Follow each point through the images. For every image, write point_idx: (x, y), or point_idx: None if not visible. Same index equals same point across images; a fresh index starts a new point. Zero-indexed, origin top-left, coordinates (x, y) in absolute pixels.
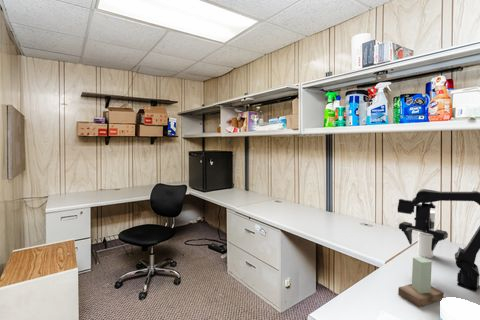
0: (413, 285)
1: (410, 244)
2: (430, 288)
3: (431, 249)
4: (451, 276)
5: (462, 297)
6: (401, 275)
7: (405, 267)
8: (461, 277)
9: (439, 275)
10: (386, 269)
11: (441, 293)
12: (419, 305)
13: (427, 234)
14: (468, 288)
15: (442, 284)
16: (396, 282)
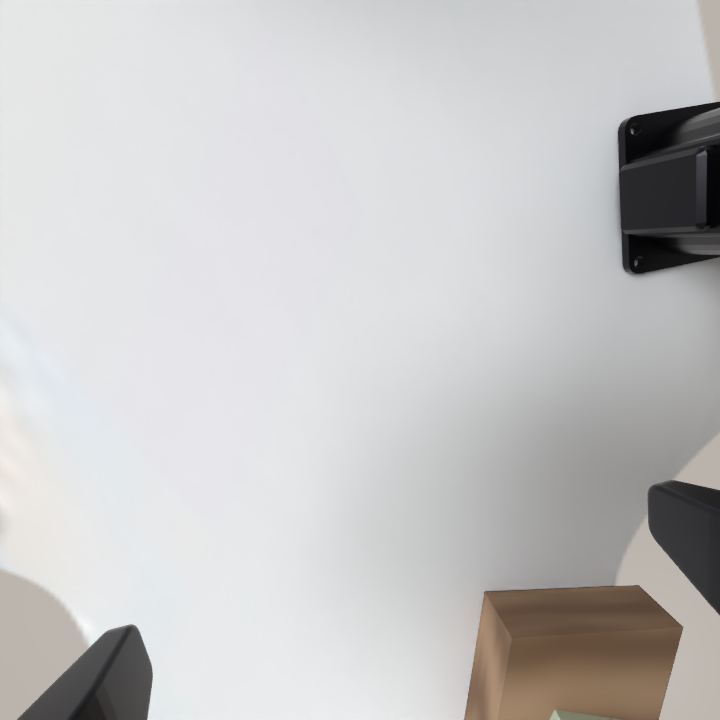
0: None
1: (149, 683)
2: (604, 671)
3: (681, 569)
4: (525, 122)
5: (704, 438)
6: (278, 578)
7: (167, 393)
8: (711, 238)
9: (451, 224)
10: (124, 616)
11: (672, 647)
12: None
13: None
14: (705, 259)
15: (547, 385)
16: (341, 705)
